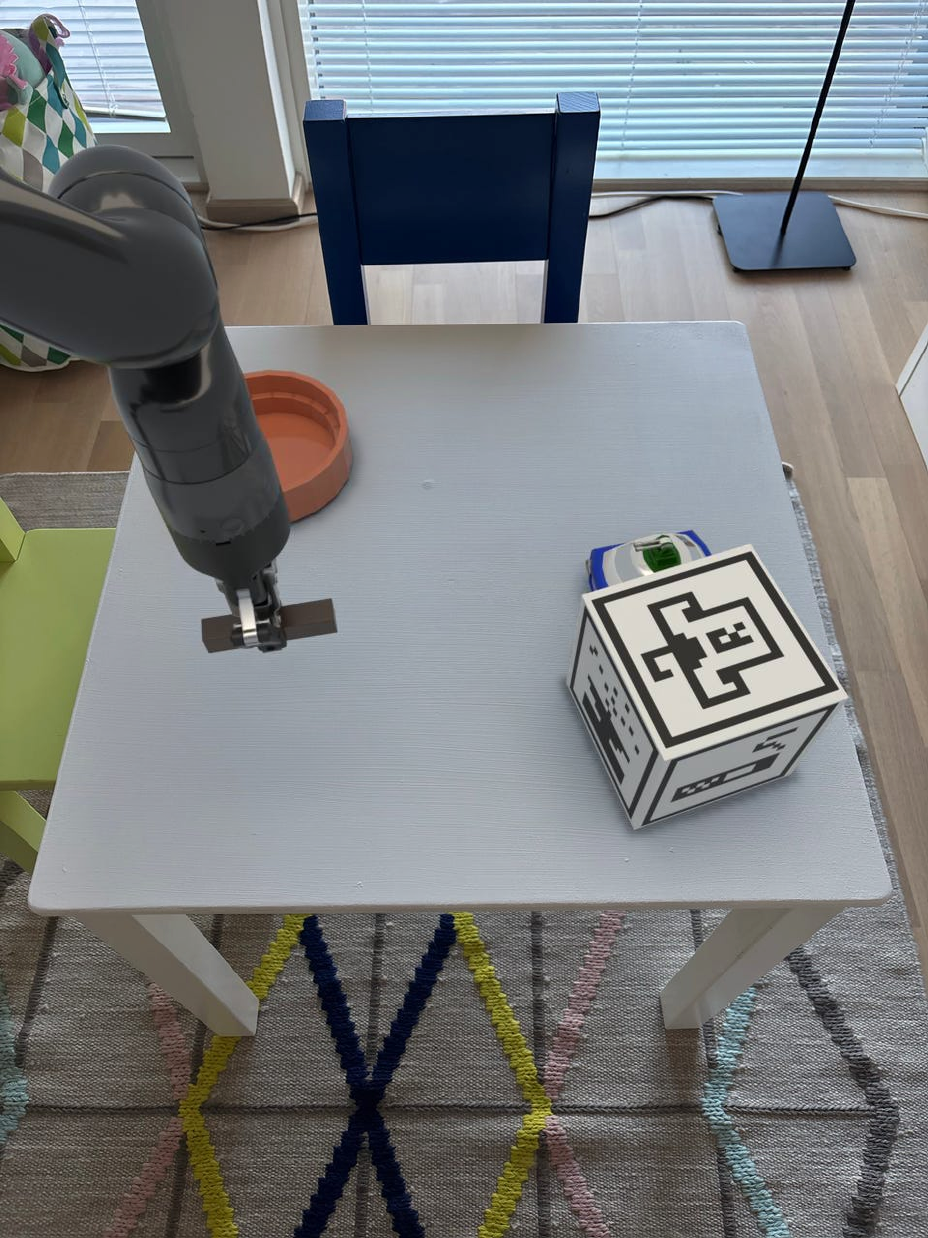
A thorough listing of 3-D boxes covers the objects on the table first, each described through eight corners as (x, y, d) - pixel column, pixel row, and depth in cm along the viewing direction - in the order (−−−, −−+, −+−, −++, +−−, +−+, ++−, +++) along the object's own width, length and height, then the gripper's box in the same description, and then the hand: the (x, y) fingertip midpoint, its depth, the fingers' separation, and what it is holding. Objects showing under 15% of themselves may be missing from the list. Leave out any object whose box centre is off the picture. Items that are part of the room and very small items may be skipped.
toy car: (577, 571, 92) (586, 512, 84) (690, 548, 93) (710, 488, 85) (605, 649, 87) (618, 594, 79) (723, 624, 88) (748, 568, 80)
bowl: (195, 541, 95) (180, 508, 90) (188, 419, 104) (174, 383, 99) (363, 513, 96) (357, 479, 92) (342, 395, 105) (335, 359, 101)
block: (790, 774, 80) (849, 697, 67) (634, 830, 78) (664, 761, 65) (710, 636, 88) (750, 543, 75) (566, 683, 85) (581, 595, 73)
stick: (338, 632, 71) (334, 619, 69) (208, 654, 70) (201, 640, 68) (335, 611, 72) (331, 597, 70) (207, 632, 71) (200, 618, 70)
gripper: (156, 416, 60) (220, 568, 74) (156, 589, 52) (227, 719, 67) (271, 400, 60) (312, 554, 75) (287, 569, 53) (329, 702, 68)
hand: (272, 631), depth 71 cm, fingers closed on stick, 2 cm apart
